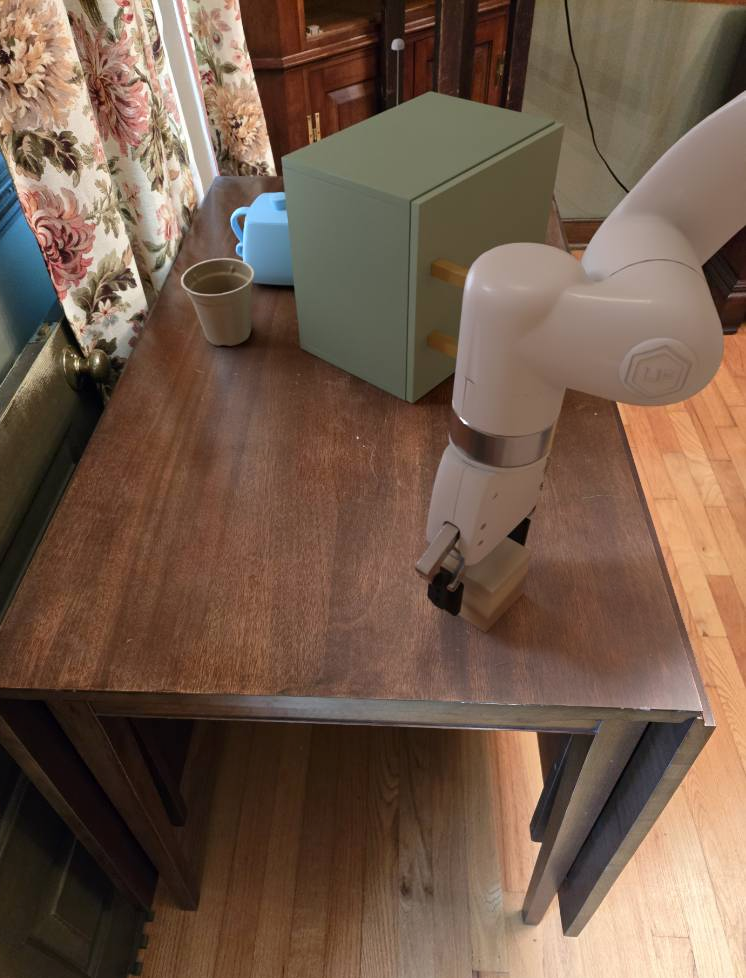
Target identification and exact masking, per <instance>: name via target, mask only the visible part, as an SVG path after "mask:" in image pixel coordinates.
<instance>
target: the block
mask: <svg viewBox="0 0 746 978" xmlns="http://www.w3.org/2000/svg"><path fill="white" fill-rule="evenodd" d="M458 544H459V540H458V542H457V543H456V544H455V547H457V548H458V549H459V547H458ZM532 554H533V551H532V549H531V550H530V549H529V548H527V547H524V546H522V545H520V544H519V543H517V542H515V541H513V540H512V539H510V538H508V537H505V538H504V539H503V540H502V541H501V542H500V543H499V544H498V545H497V546H496V547H495V548H494V549H493V550H492V551H491V552H490V553H489V554H487V555H486V556H485V557H484V558H483V559H482V560H481V561H480V562H478V563H477V564H474V565H470V566H469V567H468V569H467V571H466V573H465V575H464V577H463V579H462V580H461V582H462V583H463V584H464V591H463V598H462V604H461V611H460V613H459V614H458V615H457V616H458V617H460V618H462V620H464V621H466V622H467V623H469V624H470V625H472V626H474V627H475V628H476V629H478V630H479V631H481V632H483V633H484V634H486V633H488V631H489V630H490V629H491V628H492V627H493V626H494V625H495V624H496V623H497V622H498V620H500V619H501V617H502V616H503V615H504V614H505V613H506V612H507V611H508V610H509V609H510V608H511V606H513V604H515V602H516V601H517V600H518V599H519V598H520V597H521V596H522V595H523V593H524V590H525V585H526V581H527V576H528V573H529V572H528V571H529V567H530V564H531V559H532V556H533V555H532ZM458 563H459V560H457V559H455V558H454V557H452V556H451V555H449V554H448V556H447V557H446V558H445V560H444V561H443V563H442V564H441V566H442V567H444V568H445V569H447V570H448V571H450V572H452V573H453V572H454V570H455V568H456V567H457V565H458Z"/></svg>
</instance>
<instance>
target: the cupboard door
mask: <svg viewBox="0 0 746 978" xmlns="http://www.w3.org/2000/svg"><path fill="white" fill-rule="evenodd" d="M565 126H566V125H565V123H561V122H555V124H554V125H552V126H550V127H548V128H547V129H545V130H543V131H541V132H539V133H537V134H536V135H534V136H532V137H530V138H528V139H526V140H525V141H523V142H521V143H519V144H517V145H515V146H513V147H512V148H510V149H508V150H506V151H504V152H502V153H501V154H499V155H497V156H495V157H493V158H491V159H490V160H488V161H486V162H484V163H482V164H480V165H479V166H477V167H475V168H473V169H471V170H469V171H467V172H466V173H464V174H462V175H460V176H458V177H456V178H455V179H453V180H451V181H449V182H447V183H445V184H444V185H442V186H440V187H438V188H436V189H434V190H433V191H431V192H429V193H427V194H425V195H423V196H421V197H420V198H418V199H416V200H414V201H412V202H411V240H410V279H409V317H408V355H407V393H406V402H408V403H410V404H414V403H415V402H417V401H418V400H419V399H421V398H422V397H424V396H425V395H426V394H428V393H429V392H430V391H432V390H433V389H434V388H436V387H437V386H438V385H440V384H441V383H443V382H444V381H445V380H446V379H447V378H449V377H450V376H452V375H453V374H455V371H456V362H457V352H458V342H459V332H460V322H461V313H462V303H463V293H464V287H465V281H466V277H467V274H468V272H469V270H470V268H471V266H472V264H473V263H474V262H475V261H476V260H477V259H478V257H479V256H481V255H482V254H483V253H485V252H487V251H489V250H491V249H493V248H495V247H498V246H501V245H505V244H511V243H538V244H544V245H546V239H547V233H548V227H549V222H550V215H551V209H552V204H553V197H554V192H555V187H556V180H557V174H558V168H559V164H560V163H559V162H560V157H561V156H560V155H561V151H562V144H563V138H564V131H565Z"/></svg>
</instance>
